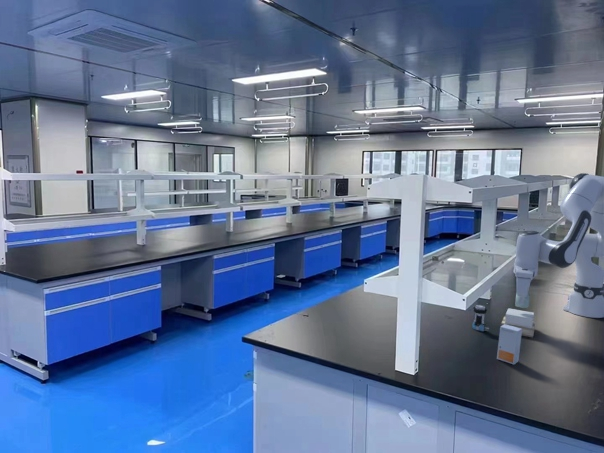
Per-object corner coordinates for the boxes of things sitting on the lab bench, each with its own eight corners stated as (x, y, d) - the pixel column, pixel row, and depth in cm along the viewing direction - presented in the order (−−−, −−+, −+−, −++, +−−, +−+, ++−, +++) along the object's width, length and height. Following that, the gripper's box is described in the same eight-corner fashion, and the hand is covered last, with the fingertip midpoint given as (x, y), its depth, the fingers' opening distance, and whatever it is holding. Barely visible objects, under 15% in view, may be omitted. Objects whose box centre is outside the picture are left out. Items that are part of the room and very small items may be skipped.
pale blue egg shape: (515, 303, 188) (516, 292, 187) (528, 305, 186) (529, 294, 185) (514, 306, 184) (515, 294, 183) (528, 308, 181) (529, 296, 181)
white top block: (507, 317, 192) (508, 308, 192) (533, 321, 187) (534, 312, 187) (504, 323, 184) (505, 314, 183) (531, 328, 179) (532, 318, 178)
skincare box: (496, 359, 154) (499, 326, 153) (501, 356, 157) (504, 323, 156) (514, 365, 150) (517, 331, 149) (519, 361, 153) (522, 328, 152)
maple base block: (503, 324, 194) (504, 315, 194) (534, 330, 188) (535, 321, 188) (500, 332, 184) (501, 323, 183) (532, 338, 178) (533, 329, 177)
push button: (490, 330, 184) (492, 307, 183) (486, 333, 180) (488, 309, 179) (474, 326, 188) (476, 303, 187) (469, 329, 184) (471, 306, 183)
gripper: (518, 265, 193) (515, 295, 195) (515, 273, 176) (511, 306, 177) (535, 267, 190) (531, 298, 192) (532, 275, 173) (529, 309, 174)
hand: (522, 302), depth 184 cm, fingers closed on pale blue egg shape, 5 cm apart
